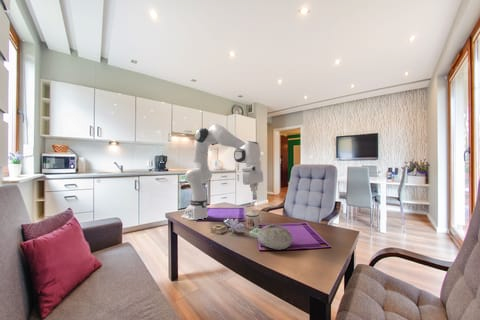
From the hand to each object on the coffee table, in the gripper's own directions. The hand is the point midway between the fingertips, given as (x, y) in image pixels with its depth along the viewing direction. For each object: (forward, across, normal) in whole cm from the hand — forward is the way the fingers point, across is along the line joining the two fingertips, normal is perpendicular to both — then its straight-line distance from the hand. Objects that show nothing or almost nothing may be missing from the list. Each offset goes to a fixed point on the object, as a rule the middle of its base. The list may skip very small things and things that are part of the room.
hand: (254, 190), depth 118 cm
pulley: (+26, -4, -23) cm, 35 cm away
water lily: (+27, +3, -12) cm, 29 cm away
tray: (+27, -1, +2) cm, 27 cm away
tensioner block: (+26, +6, -24) cm, 35 cm away
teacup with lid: (+27, -12, -7) cm, 30 cm away
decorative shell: (+27, +8, +15) cm, 32 cm away
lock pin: (+5, 0, 0) cm, 5 cm away
